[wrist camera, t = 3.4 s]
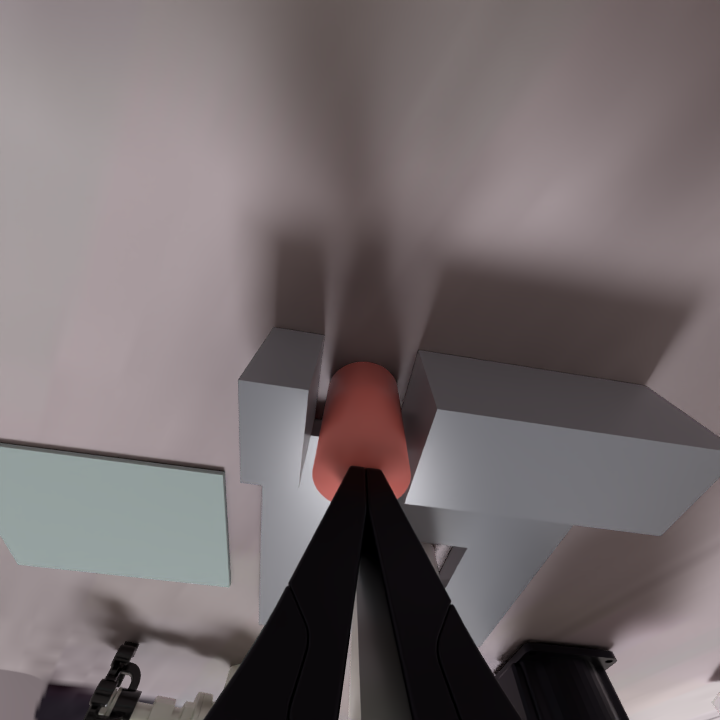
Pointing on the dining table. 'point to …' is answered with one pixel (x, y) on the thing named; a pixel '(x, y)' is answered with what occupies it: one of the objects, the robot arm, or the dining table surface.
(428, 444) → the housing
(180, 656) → the dining table surface
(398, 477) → the plunger button
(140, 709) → the valve
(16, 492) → the mat
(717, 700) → the white circle with bar
